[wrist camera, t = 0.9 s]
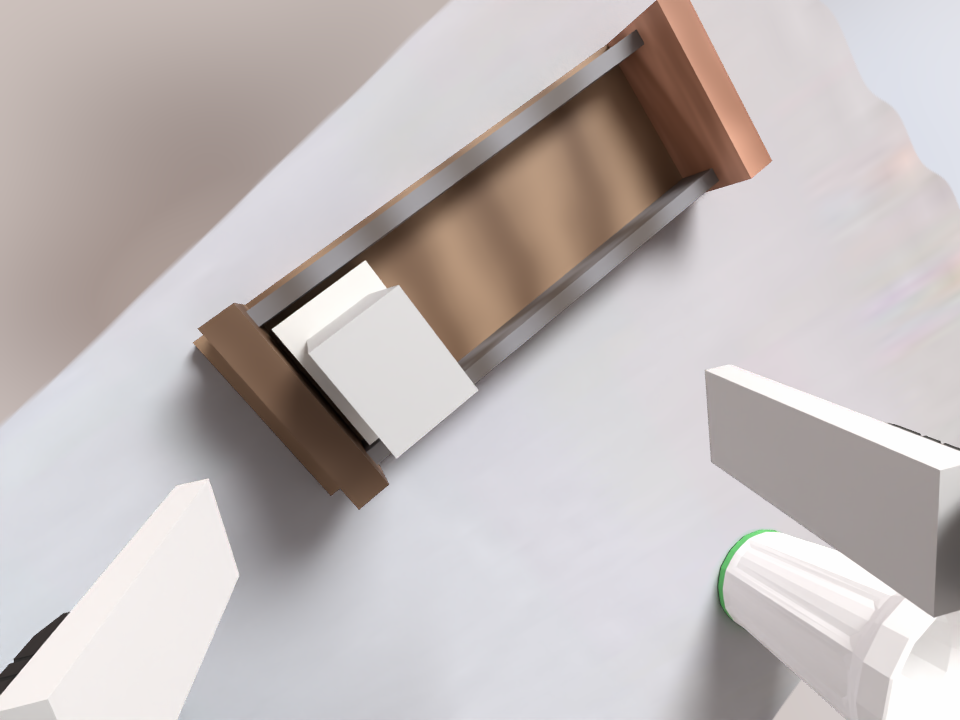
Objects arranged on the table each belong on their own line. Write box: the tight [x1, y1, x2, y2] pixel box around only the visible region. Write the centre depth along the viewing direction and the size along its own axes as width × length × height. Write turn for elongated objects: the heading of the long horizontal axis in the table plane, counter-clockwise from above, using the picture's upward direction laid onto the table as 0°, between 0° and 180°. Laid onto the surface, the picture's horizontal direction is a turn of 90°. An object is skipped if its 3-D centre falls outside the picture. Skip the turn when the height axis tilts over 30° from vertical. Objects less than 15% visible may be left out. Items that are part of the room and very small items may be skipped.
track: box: [193, 0, 772, 509], centre depth 34 cm, size 36×12×7 cm, turn 127°
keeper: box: [272, 260, 478, 459], centre depth 27 cm, size 6×8×14 cm
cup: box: [718, 530, 960, 720], centre depth 39 cm, size 12×12×15 cm
